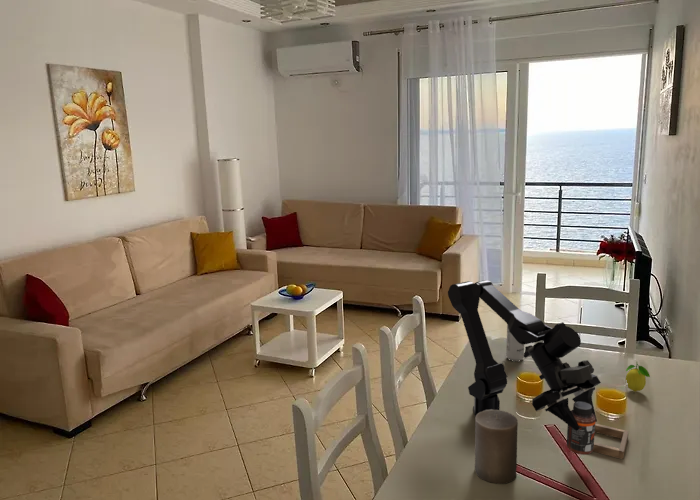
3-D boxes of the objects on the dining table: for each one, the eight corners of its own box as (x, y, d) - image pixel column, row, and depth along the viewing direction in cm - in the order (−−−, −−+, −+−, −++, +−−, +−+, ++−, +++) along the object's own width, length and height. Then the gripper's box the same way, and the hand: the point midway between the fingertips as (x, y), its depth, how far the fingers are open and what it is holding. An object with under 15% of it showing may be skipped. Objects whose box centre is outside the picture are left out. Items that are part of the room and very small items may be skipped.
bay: (581, 448, 137) (581, 441, 136) (588, 428, 146) (589, 422, 145) (623, 459, 132) (623, 451, 131) (627, 438, 141) (628, 431, 140)
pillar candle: (524, 479, 125) (527, 419, 122) (487, 488, 122) (488, 427, 120) (501, 457, 134) (503, 401, 131) (466, 464, 132) (467, 407, 129)
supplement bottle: (596, 457, 125) (599, 412, 123) (568, 454, 126) (571, 410, 124) (590, 443, 131) (593, 400, 128) (564, 441, 132) (566, 398, 130)
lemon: (648, 398, 162) (650, 366, 160) (626, 395, 164) (628, 364, 162) (644, 388, 168) (646, 358, 166) (623, 386, 170) (625, 356, 168)
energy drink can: (520, 363, 189) (522, 322, 186) (504, 360, 193) (505, 320, 190) (525, 357, 194) (527, 317, 191) (509, 354, 197) (510, 315, 194)
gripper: (544, 360, 122) (584, 426, 115) (596, 343, 132) (636, 402, 125) (516, 379, 131) (551, 442, 124) (567, 362, 140) (602, 419, 133)
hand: (586, 426), depth 126 cm, fingers closed on supplement bottle, 6 cm apart
